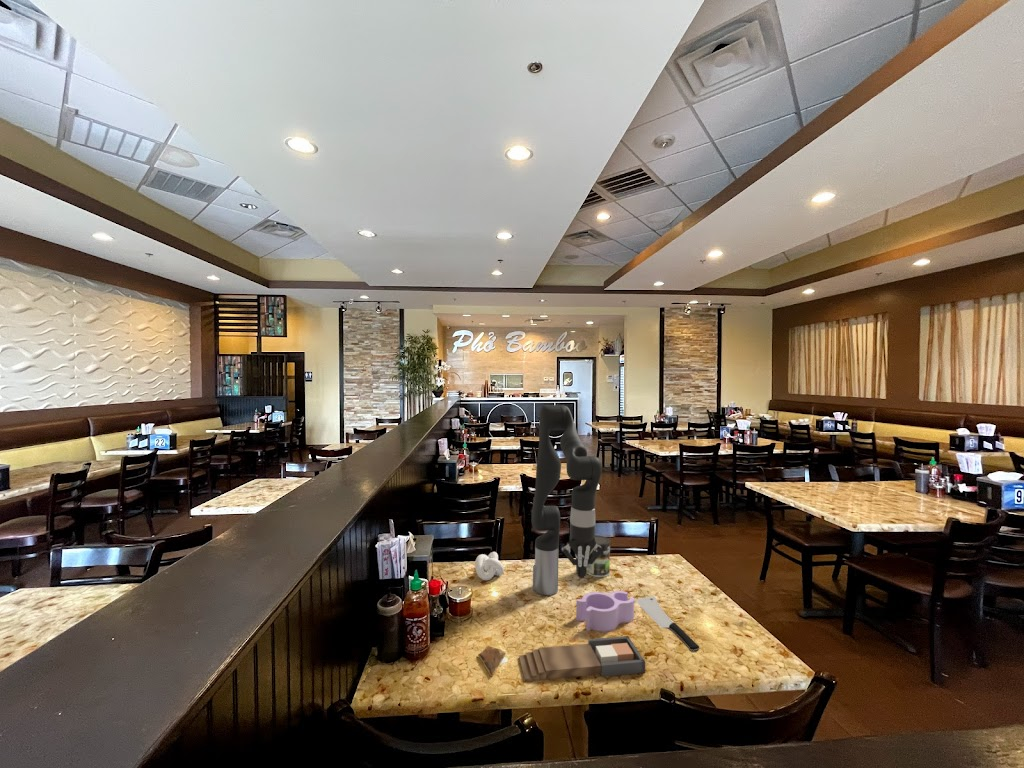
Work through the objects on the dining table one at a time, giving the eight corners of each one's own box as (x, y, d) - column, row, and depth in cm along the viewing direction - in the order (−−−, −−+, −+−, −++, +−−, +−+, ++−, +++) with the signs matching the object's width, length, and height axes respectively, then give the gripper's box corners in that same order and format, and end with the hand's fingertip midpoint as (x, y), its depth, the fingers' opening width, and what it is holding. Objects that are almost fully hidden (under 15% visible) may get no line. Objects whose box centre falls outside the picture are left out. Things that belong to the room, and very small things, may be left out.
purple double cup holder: (620, 605, 159) (620, 586, 159) (641, 623, 147) (641, 603, 147) (572, 615, 152) (572, 596, 152) (590, 635, 140) (590, 615, 140)
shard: (491, 680, 120) (491, 673, 120) (467, 672, 123) (467, 666, 123) (506, 656, 130) (506, 650, 130) (484, 650, 133) (484, 644, 133)
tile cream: (601, 667, 125) (601, 657, 125) (595, 655, 130) (595, 646, 129) (617, 665, 125) (617, 655, 125) (611, 654, 130) (611, 644, 130)
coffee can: (613, 570, 187) (613, 538, 186) (604, 579, 178) (605, 546, 178) (591, 564, 192) (591, 533, 192) (581, 573, 184) (582, 540, 183)
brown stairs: (524, 681, 119) (524, 674, 119) (519, 657, 129) (519, 650, 129) (545, 679, 120) (546, 672, 120) (538, 655, 130) (538, 649, 130)
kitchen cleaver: (628, 598, 162) (652, 593, 164) (629, 603, 162) (653, 597, 164) (675, 652, 132) (704, 644, 134) (675, 657, 132) (704, 650, 134)
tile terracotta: (617, 664, 126) (617, 654, 126) (610, 653, 131) (611, 644, 130) (633, 663, 126) (633, 653, 126) (626, 652, 131) (626, 642, 131)
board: (545, 679, 120) (546, 670, 120) (538, 656, 130) (538, 647, 130) (600, 674, 122) (600, 665, 122) (589, 651, 132) (589, 643, 132)
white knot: (474, 569, 186) (474, 549, 186) (502, 568, 187) (502, 548, 187) (475, 582, 175) (475, 560, 175) (504, 581, 176) (504, 559, 176)
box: (601, 676, 121) (601, 665, 121) (588, 649, 133) (588, 639, 133) (645, 672, 123) (645, 661, 123) (627, 646, 135) (628, 636, 135)
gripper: (564, 527, 125) (563, 584, 126) (607, 525, 127) (606, 582, 128) (558, 517, 133) (557, 572, 134) (599, 516, 135) (597, 569, 136)
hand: (581, 576), depth 131 cm, fingers closed
